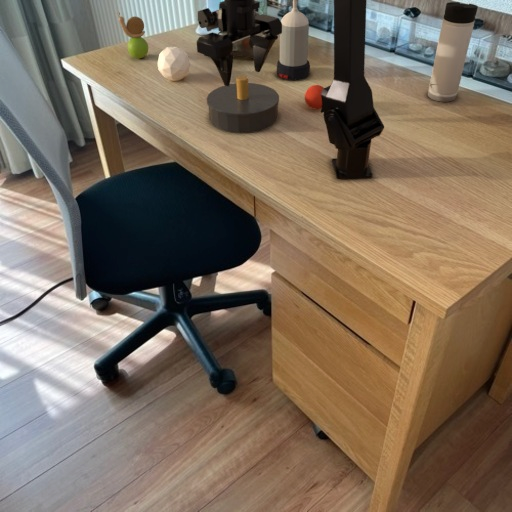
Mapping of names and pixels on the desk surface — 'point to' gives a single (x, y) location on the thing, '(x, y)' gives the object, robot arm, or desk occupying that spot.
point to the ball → (314, 96)
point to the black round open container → (243, 121)
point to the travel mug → (451, 51)
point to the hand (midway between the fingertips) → (242, 78)
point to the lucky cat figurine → (243, 44)
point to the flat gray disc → (242, 98)
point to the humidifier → (294, 46)
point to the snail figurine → (135, 36)
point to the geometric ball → (173, 63)
